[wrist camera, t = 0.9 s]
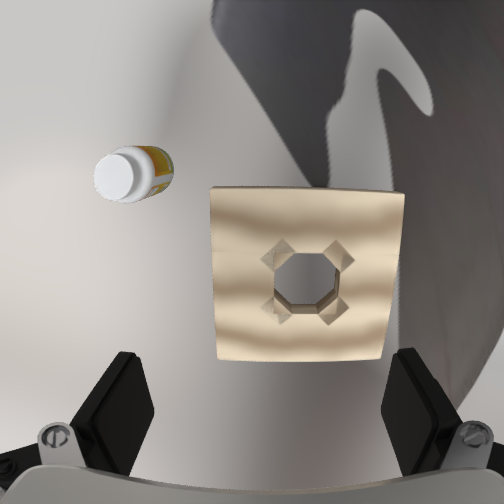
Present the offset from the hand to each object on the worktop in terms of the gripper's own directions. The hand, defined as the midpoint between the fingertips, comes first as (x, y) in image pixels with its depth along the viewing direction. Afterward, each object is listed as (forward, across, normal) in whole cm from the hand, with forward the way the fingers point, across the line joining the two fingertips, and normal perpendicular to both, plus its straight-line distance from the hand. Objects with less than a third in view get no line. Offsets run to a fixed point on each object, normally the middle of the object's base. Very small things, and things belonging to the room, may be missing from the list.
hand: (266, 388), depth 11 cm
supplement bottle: (+26, +13, -7) cm, 30 cm away
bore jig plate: (+26, -4, +5) cm, 26 cm away
